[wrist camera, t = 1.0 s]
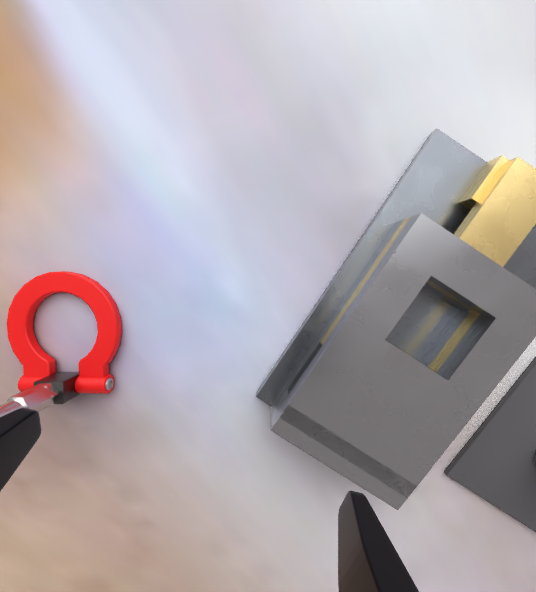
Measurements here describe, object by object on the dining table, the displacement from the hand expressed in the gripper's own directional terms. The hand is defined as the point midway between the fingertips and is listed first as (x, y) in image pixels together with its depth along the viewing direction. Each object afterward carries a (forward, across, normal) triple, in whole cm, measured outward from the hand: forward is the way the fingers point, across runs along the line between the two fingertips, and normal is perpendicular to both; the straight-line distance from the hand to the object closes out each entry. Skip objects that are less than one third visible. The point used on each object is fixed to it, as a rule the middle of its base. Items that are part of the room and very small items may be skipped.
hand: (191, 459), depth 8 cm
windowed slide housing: (+15, -11, 0) cm, 18 cm away
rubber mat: (+12, -24, +7) cm, 28 cm away
